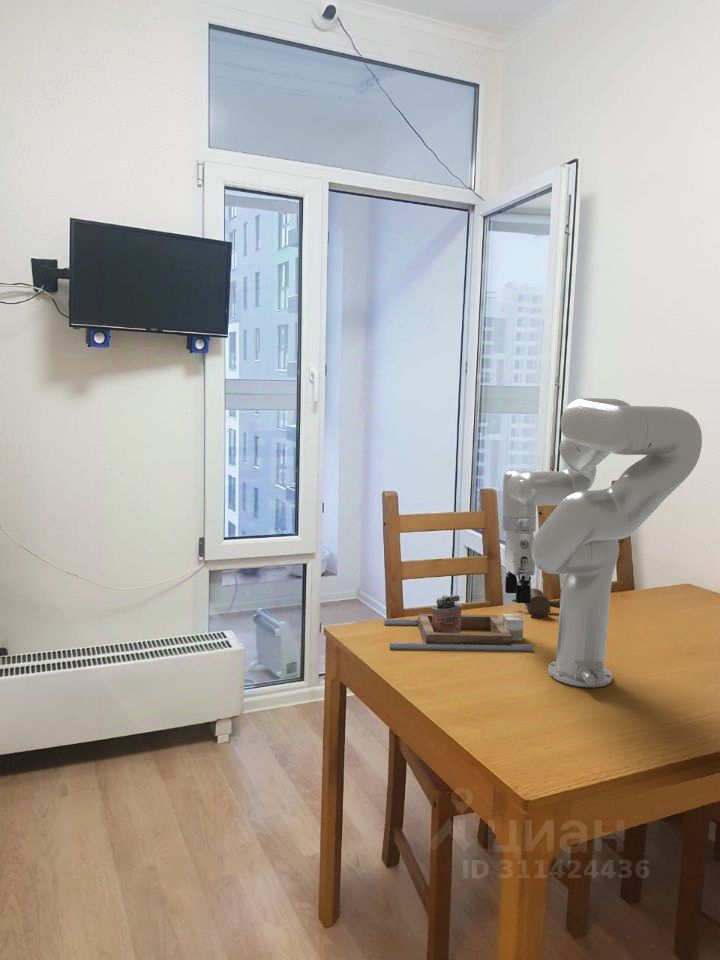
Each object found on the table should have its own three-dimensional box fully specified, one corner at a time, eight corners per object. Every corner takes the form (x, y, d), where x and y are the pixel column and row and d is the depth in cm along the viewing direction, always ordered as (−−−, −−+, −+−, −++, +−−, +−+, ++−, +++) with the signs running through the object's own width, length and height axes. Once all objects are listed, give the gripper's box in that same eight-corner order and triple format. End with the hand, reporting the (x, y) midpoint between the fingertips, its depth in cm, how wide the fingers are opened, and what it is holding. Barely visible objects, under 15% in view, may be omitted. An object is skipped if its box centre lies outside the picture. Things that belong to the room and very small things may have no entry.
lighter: (435, 642, 165) (437, 599, 164) (427, 637, 168) (429, 596, 167) (463, 637, 169) (465, 596, 168) (455, 632, 172) (457, 592, 171)
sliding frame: (528, 649, 161) (530, 627, 161) (425, 647, 160) (426, 625, 160) (512, 627, 176) (513, 607, 176) (417, 625, 175) (418, 605, 175)
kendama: (591, 622, 185) (513, 616, 186) (583, 612, 195) (508, 606, 196) (594, 600, 184) (515, 594, 186) (585, 590, 194) (510, 585, 195)
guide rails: (532, 652, 160) (533, 645, 160) (389, 650, 159) (389, 643, 159) (513, 626, 178) (513, 620, 177) (384, 624, 176) (384, 618, 176)
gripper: (546, 529, 157) (544, 606, 158) (525, 519, 174) (523, 589, 175) (512, 529, 157) (510, 607, 158) (494, 519, 174) (493, 589, 175)
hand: (517, 597), depth 166 cm, fingers open, 9 cm apart
